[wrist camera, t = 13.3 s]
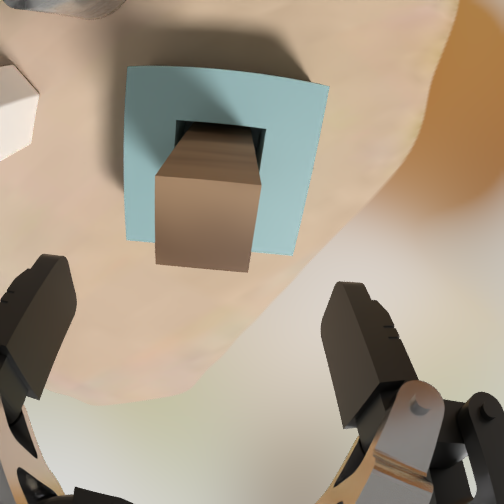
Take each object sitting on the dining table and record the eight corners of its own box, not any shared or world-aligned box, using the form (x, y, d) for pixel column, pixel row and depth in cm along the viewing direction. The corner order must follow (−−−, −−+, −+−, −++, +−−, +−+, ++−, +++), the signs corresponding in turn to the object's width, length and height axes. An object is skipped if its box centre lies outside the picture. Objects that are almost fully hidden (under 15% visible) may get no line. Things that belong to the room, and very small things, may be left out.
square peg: (194, 121, 22) (155, 176, 11) (249, 126, 22) (261, 185, 12) (190, 172, 24) (155, 264, 14) (242, 177, 24) (247, 272, 14)
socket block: (149, 65, 20) (127, 66, 16) (311, 82, 21) (329, 86, 17) (143, 209, 26) (126, 240, 22) (284, 223, 27) (292, 255, 23)
